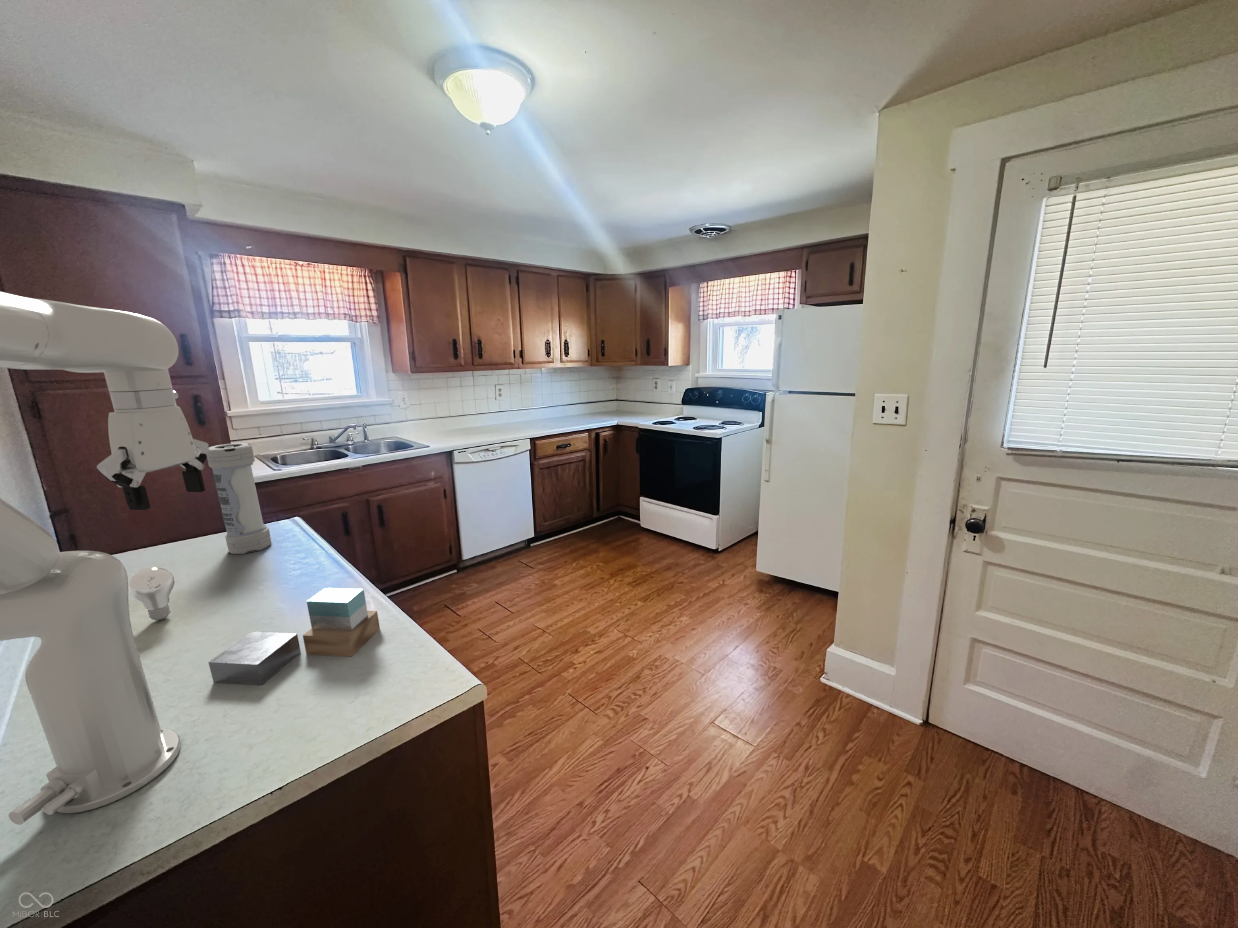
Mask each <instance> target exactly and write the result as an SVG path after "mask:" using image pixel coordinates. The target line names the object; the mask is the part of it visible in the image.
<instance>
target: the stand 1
mask: <svg viewBox="0 0 1238 928" xmlns="http://www.w3.org/2000/svg"><path fill="white" fill-rule="evenodd" d="M298 636H299V635H298V633H294V632H293V633H292V632H272V631H271V632H270V631H251V632H250V633H248V634H247V635H245V636H244V637H242V638H241V639H240V640H238V641H237V642H236V643H234V644H232V645H230V646H229V647H228V648H227V649H225V650H224V651H222V652H221V653H219V654H218V655H216V656H215V657H214V658H212V659H211V660H209V661H208V666H209V670H210V673H211V677H212V682H213V683H216V684H217V683H218V684H237V685H253V686H256V685H257V686H263V685H264V684H266V683H267V682H268V681H269V680H270V679H271V678H272V677H274V675H276V674H277V673H278V672H280V671H281V670H282V669H284V667H285V666H287V664H289V663H290V662H291V661H292V660H294V659H295V658H296V657H297V656H298V655H300V654H301V653H302V650H301V646H300V641H299V637H298Z"/></svg>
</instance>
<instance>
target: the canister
mask: <svg viewBox="0 0 1238 928" xmlns="http://www.w3.org/2000/svg"><path fill="white" fill-rule="evenodd" d="M206 455H207V458H206V460H207V463H208V467H209V468H211V469H212V475H213V480H214V484H215V489H216V491H217V498H218V503H219V504H220V509H221V515H222V519H223V523H224V526H225V531H226V534H225V535H224V537H225V541H226V546H227V550H228V552H229V553H230V554H232V555H245V554H249V553H253V552H260V551H262V550H264V549H266V548H268V547H269V546H270V545H271V544H272V538H271V533H270V528H269V526H267V525H266V524H265V523H264V520H263V516H262V515H263V514H262V512H261V507H260V503H259V498H258V497H259V495H258V493H257V488H256V484H255V478H254V477H255V476H254V474H253V469H252V465H254V462H256V460H255V454H254V449H253V446H252V445H251V443H249V442H234V443H225V444H218V445H213V446H208V450H207V454H206Z"/></svg>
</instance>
